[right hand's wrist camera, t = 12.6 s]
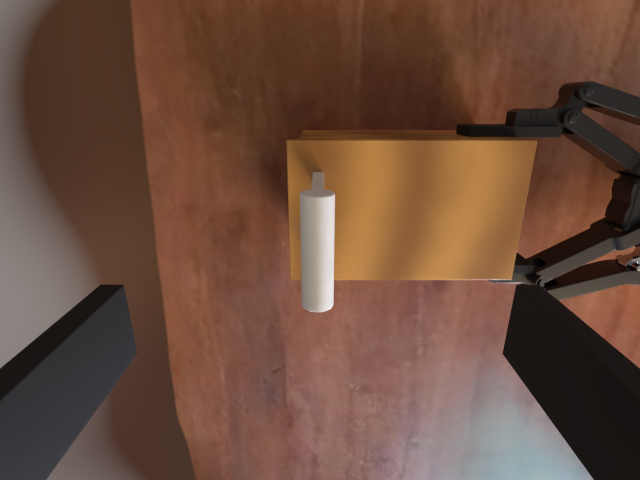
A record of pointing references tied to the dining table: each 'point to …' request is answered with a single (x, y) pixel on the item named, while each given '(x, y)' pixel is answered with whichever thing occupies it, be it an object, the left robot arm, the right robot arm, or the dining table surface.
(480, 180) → the lid
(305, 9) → the dining table surface
